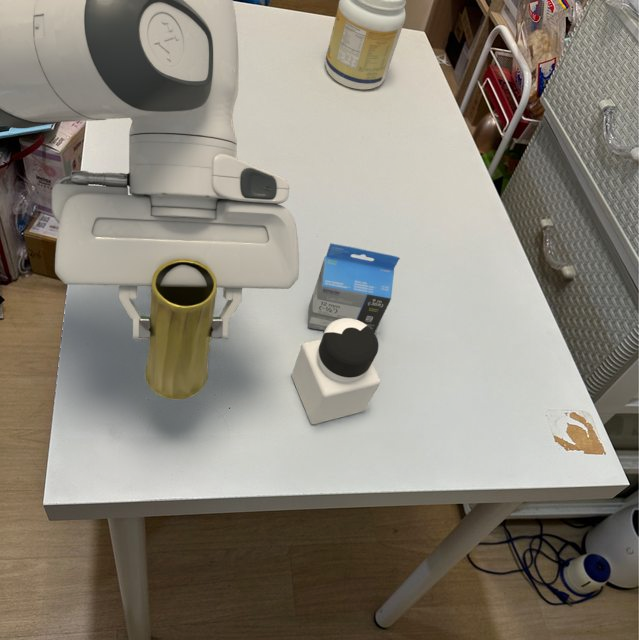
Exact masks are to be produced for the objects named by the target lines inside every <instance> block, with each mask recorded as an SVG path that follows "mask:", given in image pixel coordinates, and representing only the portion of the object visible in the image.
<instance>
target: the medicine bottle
mask: <svg viewBox="0 0 639 640" xmlns="http://www.w3.org/2000/svg"><path fill="white" fill-rule="evenodd" d="M379 347H380V345H379V339H378V337H377V335H376V332H375V333H374V332H373V331H372V330H371V328H370V327H368V326H367V325H366V324H364V323H363V322H361V321H358V320H355V319H349V318H343V319H338V320H335V321H333V322H332V323H330V324H329V325H328V327H327V328H326V330H324V332H323V335H322V337H321V338H320V339H316V340H315V339H314V340H310V341H305V342H303V343H302V344H301V346H300V349H299V353H298V355H297V357H296V360H295V363H294V366H293V369H292V371H291V379H292V380H293V381H292V382H293V384H294V385H295V388H296V390H297V393H298V396H299V398H300V401H301V403H302V405H303V408H304V410H305V413H306V416H307V418H308V420H309V423H310V424H311V425H318V424H320V423H325V422H328V421H332V420H336V419H340V418H343V417H348V416H351V415H355V414H359V413H362V412H365V410H366V408H367V407H368V405H369V403H370V402H371V400H372V398H373V396H374V395H375V393H376V391H377V390H378V388H379V386H380V384H381V382H382V381H381V378H380V375H379V374H378V372H377V369H376V368H375V365H374V364H373V362H374V360H375V358H376V356H377V354H378V352H379Z"/></svg>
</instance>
